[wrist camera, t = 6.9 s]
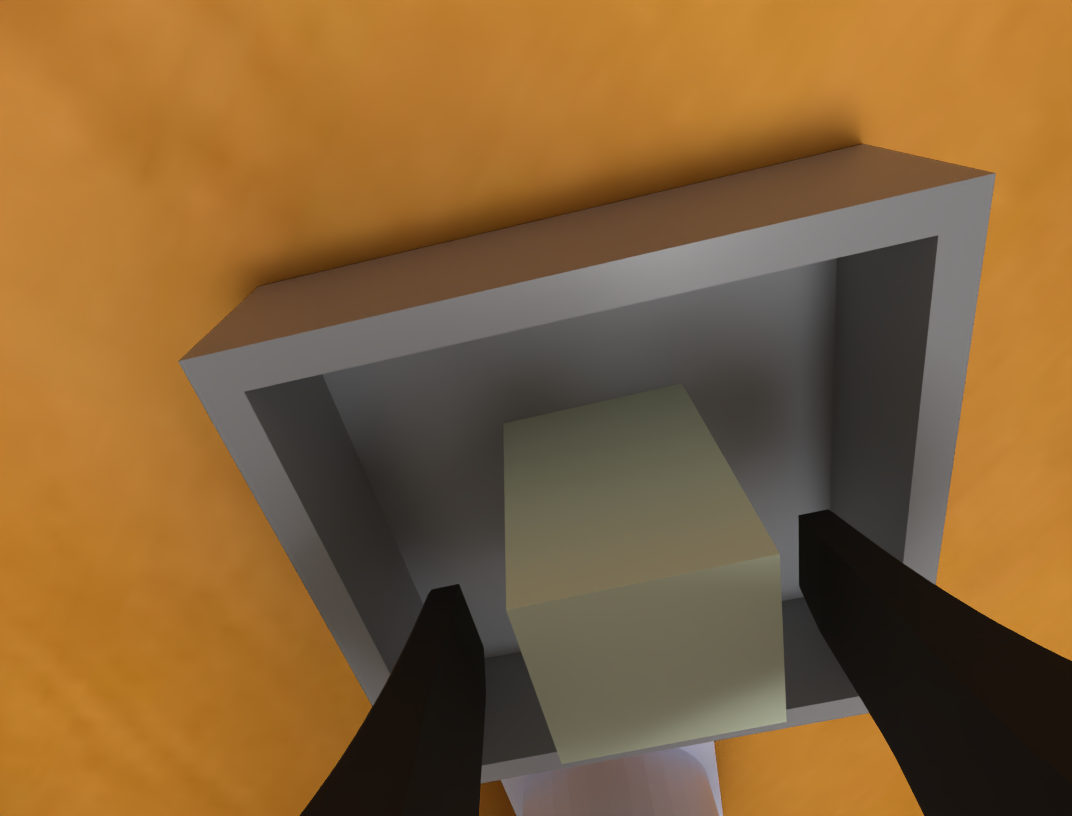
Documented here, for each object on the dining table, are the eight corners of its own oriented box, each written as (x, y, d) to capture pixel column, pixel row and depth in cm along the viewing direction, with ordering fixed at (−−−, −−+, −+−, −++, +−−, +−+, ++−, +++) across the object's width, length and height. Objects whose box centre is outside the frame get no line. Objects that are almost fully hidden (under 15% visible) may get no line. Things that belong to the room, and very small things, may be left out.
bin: (843, 591, 20) (917, 703, 16) (434, 670, 21) (421, 793, 17) (863, 143, 13) (995, 173, 10) (258, 286, 14) (177, 361, 10)
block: (699, 521, 17) (787, 722, 12) (542, 555, 18) (562, 764, 12) (682, 383, 15) (779, 553, 10) (503, 423, 15) (506, 610, 10)
